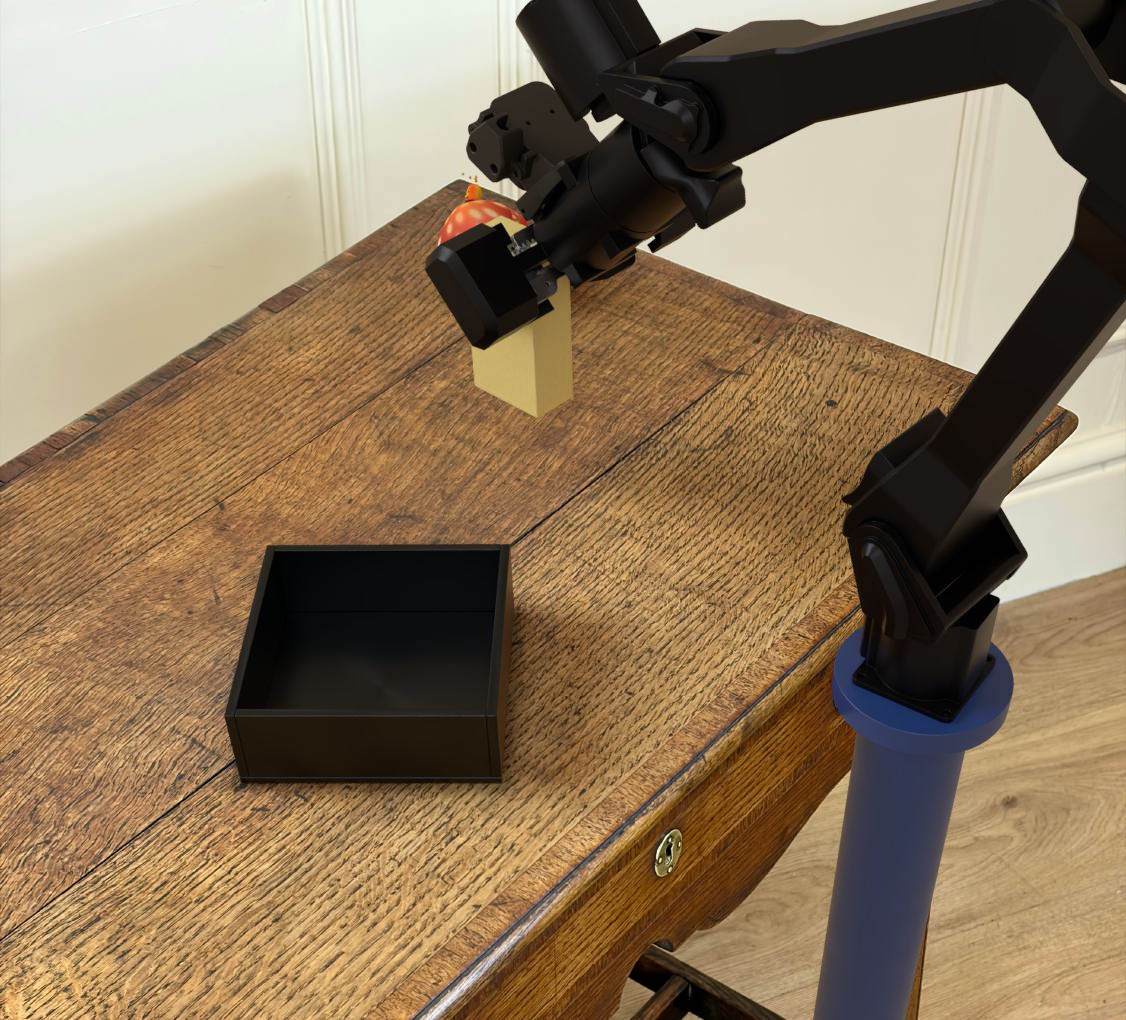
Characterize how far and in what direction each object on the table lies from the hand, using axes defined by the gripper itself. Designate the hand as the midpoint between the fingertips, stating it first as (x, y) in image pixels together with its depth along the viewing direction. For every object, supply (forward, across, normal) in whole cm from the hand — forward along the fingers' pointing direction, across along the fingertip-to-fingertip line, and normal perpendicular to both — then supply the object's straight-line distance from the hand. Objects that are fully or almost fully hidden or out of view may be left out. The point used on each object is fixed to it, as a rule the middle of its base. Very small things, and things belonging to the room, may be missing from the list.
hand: (503, 296), depth 102 cm
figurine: (+23, -18, -3) cm, 29 cm away
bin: (+3, +22, +17) cm, 28 cm away
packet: (+4, 0, +6) cm, 7 cm away
